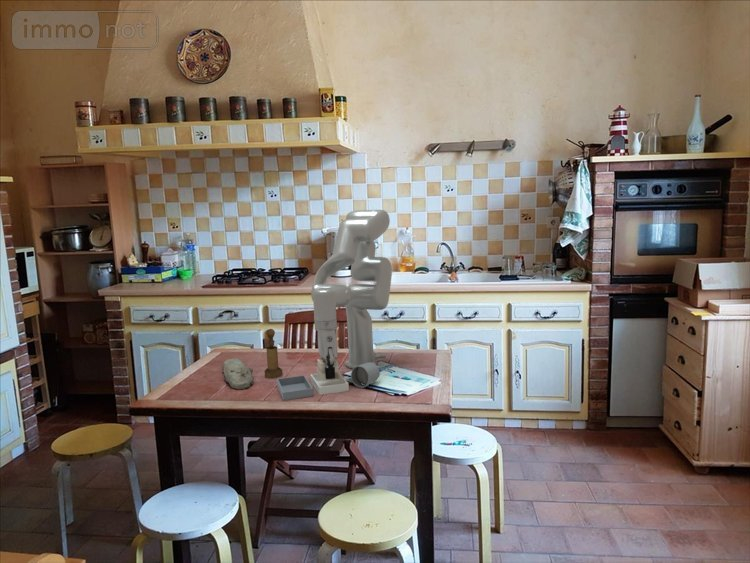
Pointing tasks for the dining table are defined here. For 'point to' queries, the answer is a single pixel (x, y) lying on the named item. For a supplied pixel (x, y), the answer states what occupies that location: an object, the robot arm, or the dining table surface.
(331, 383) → the tray
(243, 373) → the long grey stone
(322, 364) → the letter cube
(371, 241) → the robot arm
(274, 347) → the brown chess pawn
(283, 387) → the tray
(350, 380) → the ceramic mug
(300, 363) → the dining table surface
